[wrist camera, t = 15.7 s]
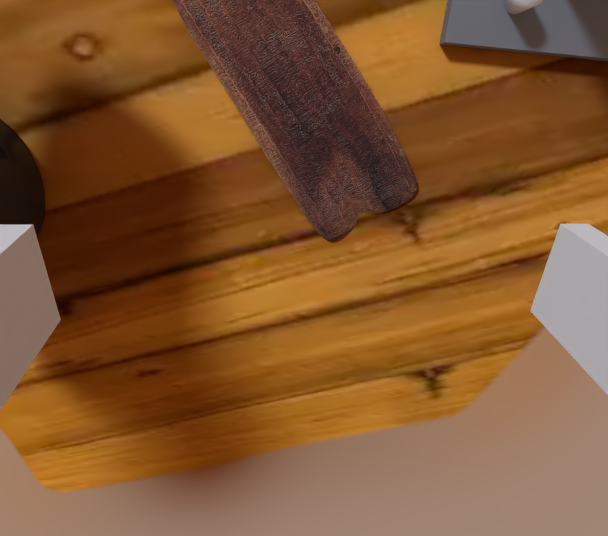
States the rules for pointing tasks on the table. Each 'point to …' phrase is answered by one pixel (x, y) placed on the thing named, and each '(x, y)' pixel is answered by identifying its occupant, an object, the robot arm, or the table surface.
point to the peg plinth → (530, 26)
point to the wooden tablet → (304, 106)
